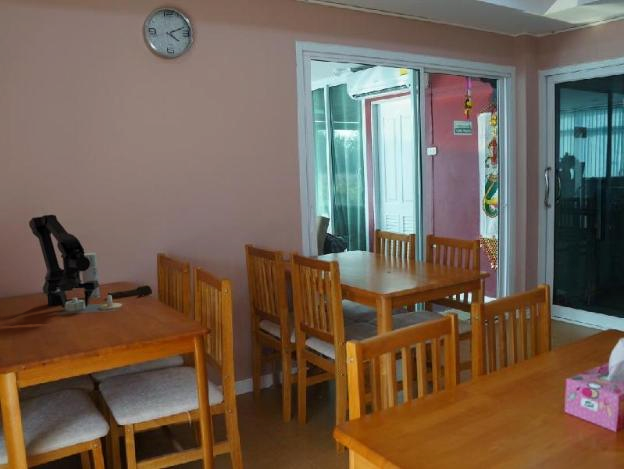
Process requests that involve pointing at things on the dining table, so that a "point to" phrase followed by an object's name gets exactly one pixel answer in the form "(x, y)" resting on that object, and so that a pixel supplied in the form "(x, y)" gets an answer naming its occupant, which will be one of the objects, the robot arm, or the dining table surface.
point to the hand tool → (132, 292)
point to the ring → (75, 305)
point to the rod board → (96, 307)
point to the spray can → (91, 273)
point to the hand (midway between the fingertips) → (75, 307)
